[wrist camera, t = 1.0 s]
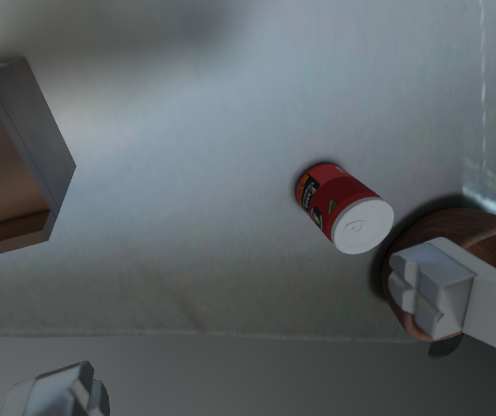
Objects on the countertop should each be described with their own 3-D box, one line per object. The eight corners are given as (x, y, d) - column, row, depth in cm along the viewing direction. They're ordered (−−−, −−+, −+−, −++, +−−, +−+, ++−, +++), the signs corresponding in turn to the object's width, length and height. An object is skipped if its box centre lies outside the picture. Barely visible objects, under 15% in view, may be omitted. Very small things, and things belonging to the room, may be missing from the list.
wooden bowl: (402, 190, 52) (455, 225, 43) (505, 197, 60) (566, 227, 52) (349, 305, 63) (382, 350, 54) (442, 297, 72) (483, 334, 63)
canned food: (292, 169, 43) (334, 210, 34) (345, 155, 45) (399, 191, 36) (295, 216, 48) (333, 263, 39) (344, 201, 49) (391, 244, 40)
